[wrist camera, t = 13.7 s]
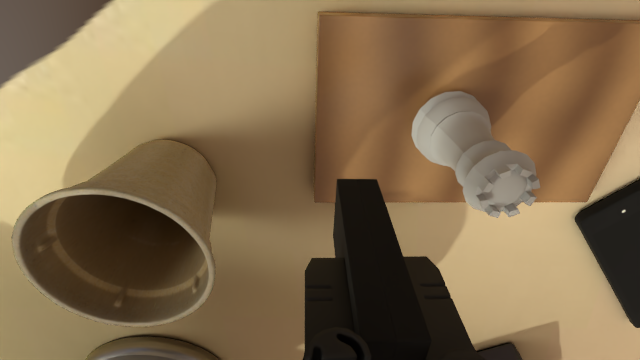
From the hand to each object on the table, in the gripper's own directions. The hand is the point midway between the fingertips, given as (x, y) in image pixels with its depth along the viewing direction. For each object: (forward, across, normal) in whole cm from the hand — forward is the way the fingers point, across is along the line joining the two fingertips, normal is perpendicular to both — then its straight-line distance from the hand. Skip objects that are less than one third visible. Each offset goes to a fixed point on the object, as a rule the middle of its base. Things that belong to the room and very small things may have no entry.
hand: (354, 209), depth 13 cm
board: (+11, -9, 0) cm, 14 cm away
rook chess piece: (+9, -7, 0) cm, 12 cm away
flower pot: (+11, +11, +5) cm, 16 cm away
